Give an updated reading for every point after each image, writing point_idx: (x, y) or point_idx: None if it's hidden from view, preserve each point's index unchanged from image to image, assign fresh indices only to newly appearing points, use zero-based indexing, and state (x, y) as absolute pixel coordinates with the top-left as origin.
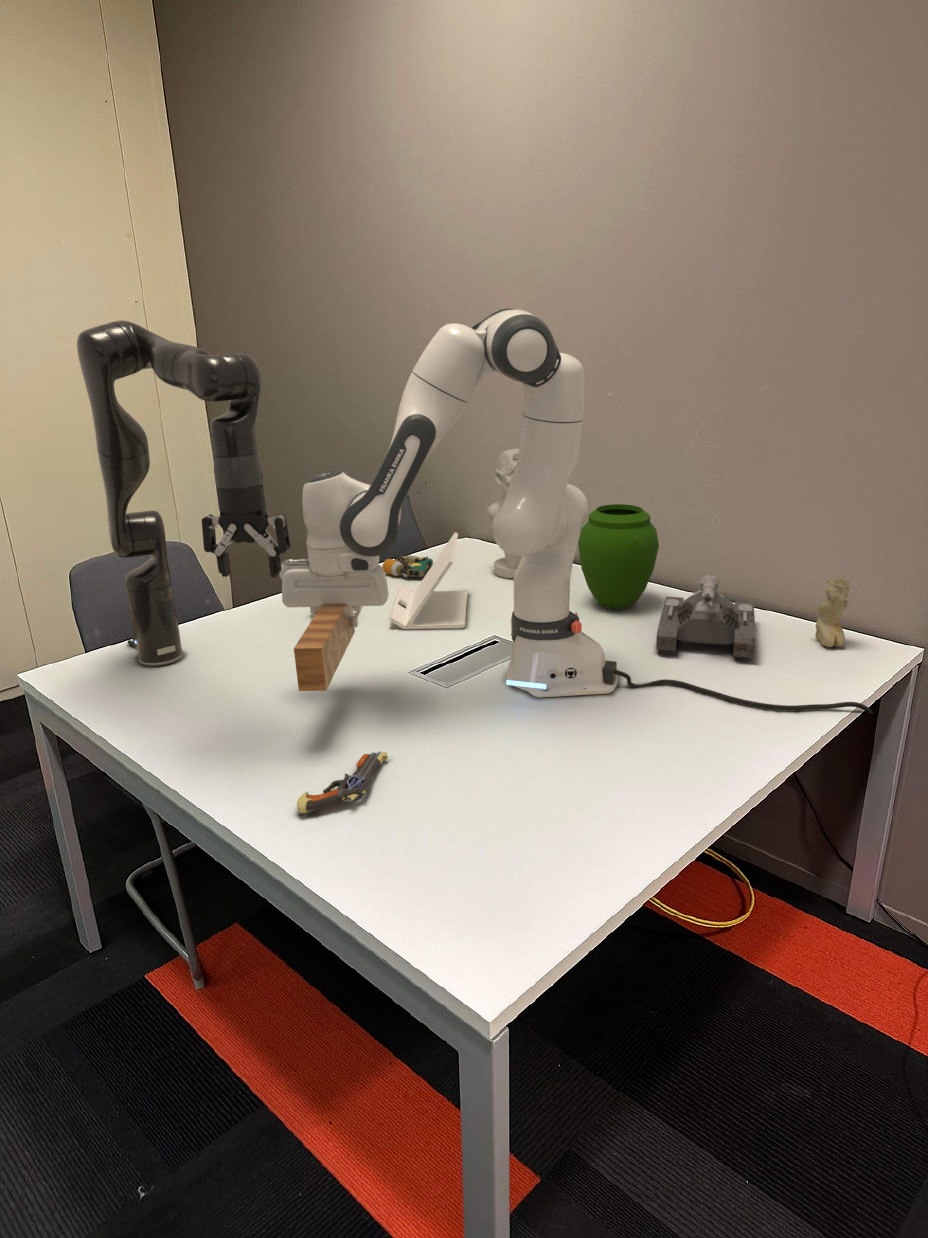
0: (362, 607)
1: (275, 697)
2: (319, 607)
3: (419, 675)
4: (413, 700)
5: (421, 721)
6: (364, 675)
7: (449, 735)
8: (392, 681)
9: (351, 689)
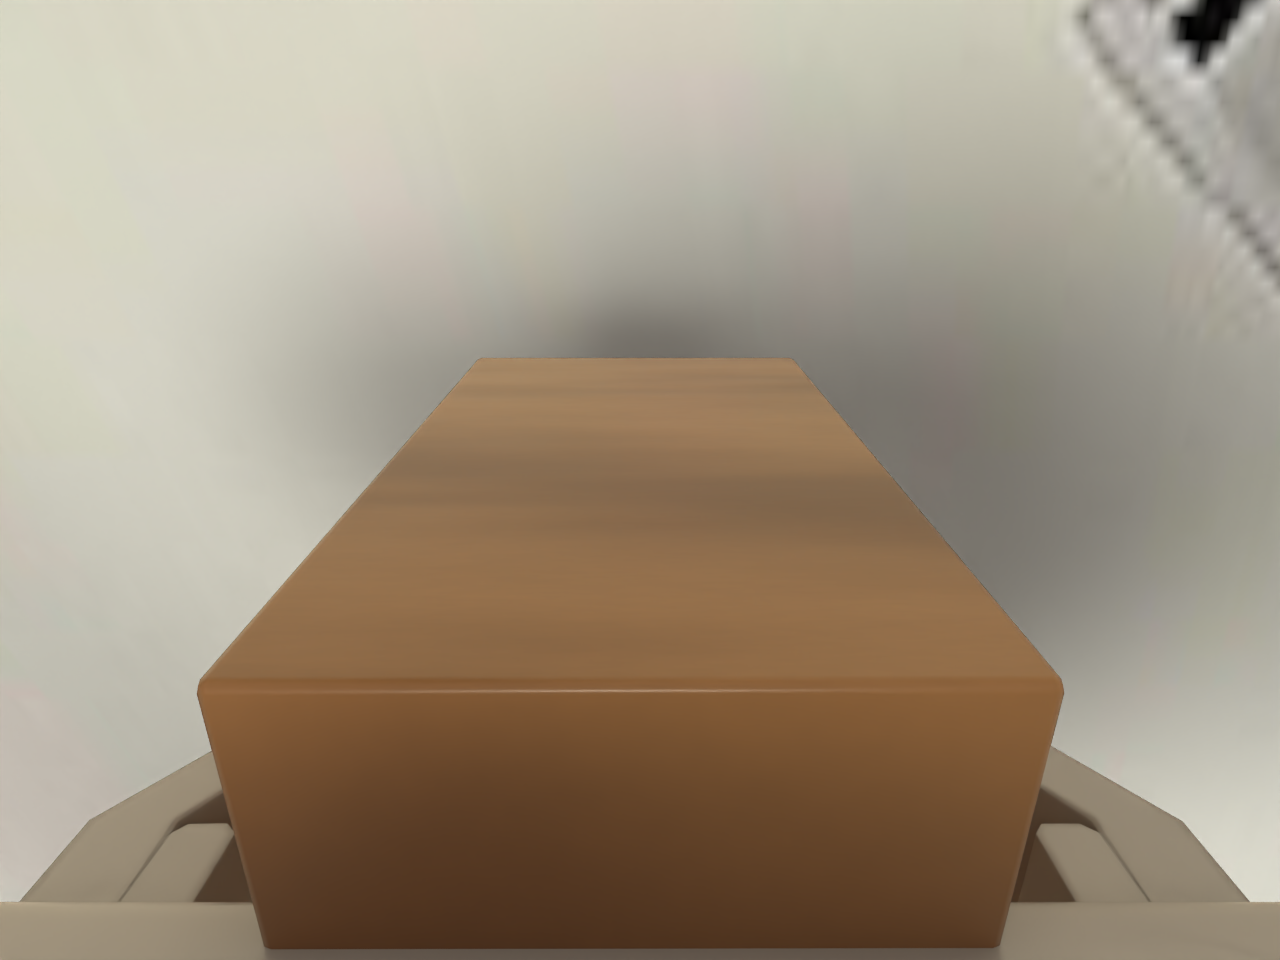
0: (1182, 823)
1: (210, 449)
2: (232, 874)
3: (1156, 82)
4: (1067, 483)
5: (1083, 699)
6: (730, 80)
7: (1192, 807)
8: (946, 198)
9: (670, 332)
